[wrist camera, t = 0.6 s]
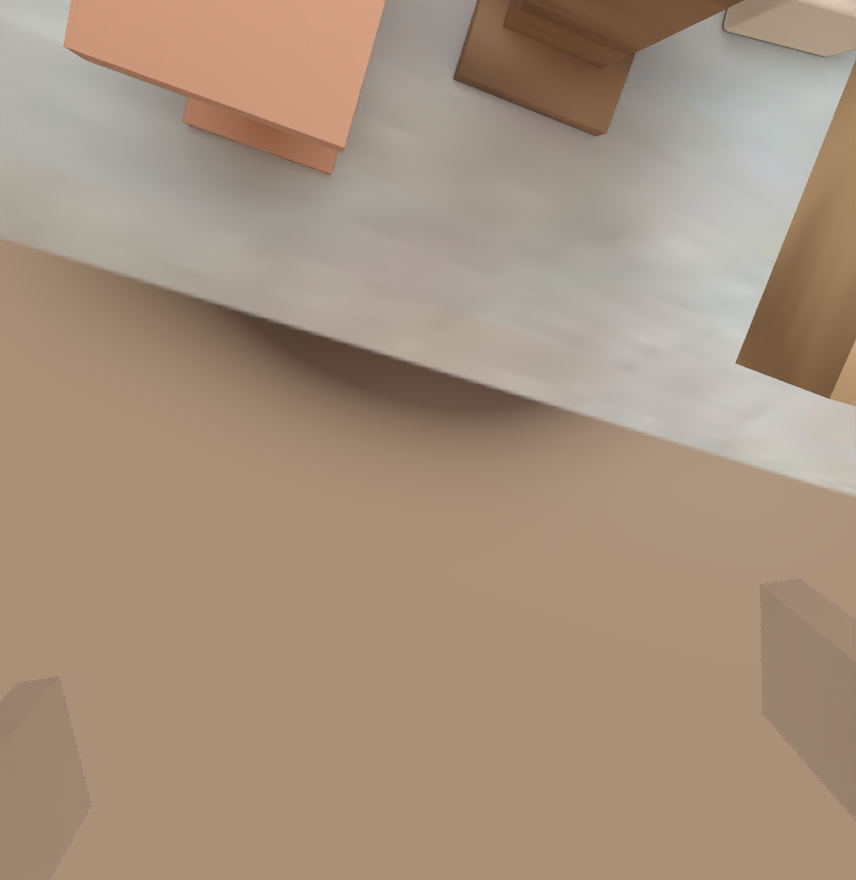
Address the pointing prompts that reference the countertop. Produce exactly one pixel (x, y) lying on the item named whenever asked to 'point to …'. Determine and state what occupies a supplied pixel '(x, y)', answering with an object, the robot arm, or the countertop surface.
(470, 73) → the walnut stand
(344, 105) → the terracotta stand
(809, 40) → the medicine bottle
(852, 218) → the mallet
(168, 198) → the countertop surface
